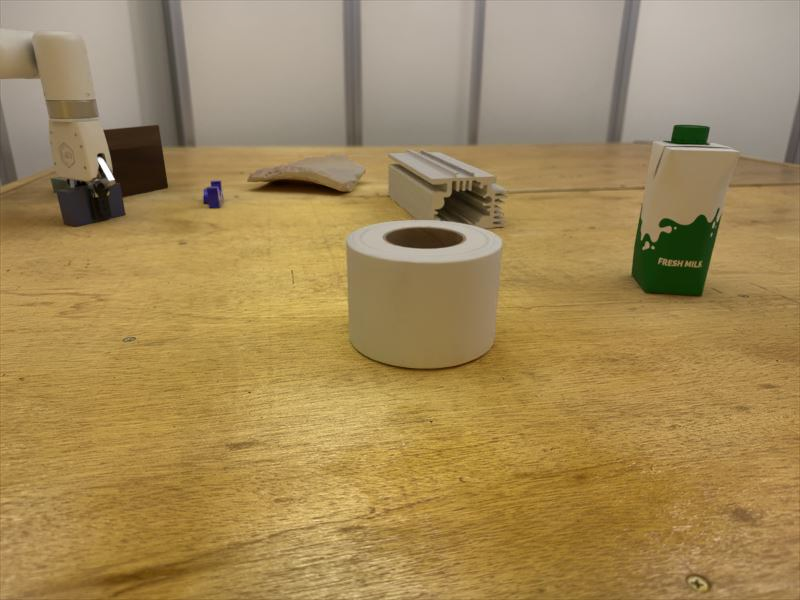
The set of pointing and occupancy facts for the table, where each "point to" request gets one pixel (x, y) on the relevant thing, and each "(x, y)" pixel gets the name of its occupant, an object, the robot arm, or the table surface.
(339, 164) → the pottery shard
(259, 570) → the table surface
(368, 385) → the table surface
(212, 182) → the cable holder
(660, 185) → the milk carton
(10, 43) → the robot arm
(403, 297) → the tape roll
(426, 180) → the aluminum extrusion profile
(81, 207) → the rectangular block
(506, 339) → the table surface
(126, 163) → the rack
